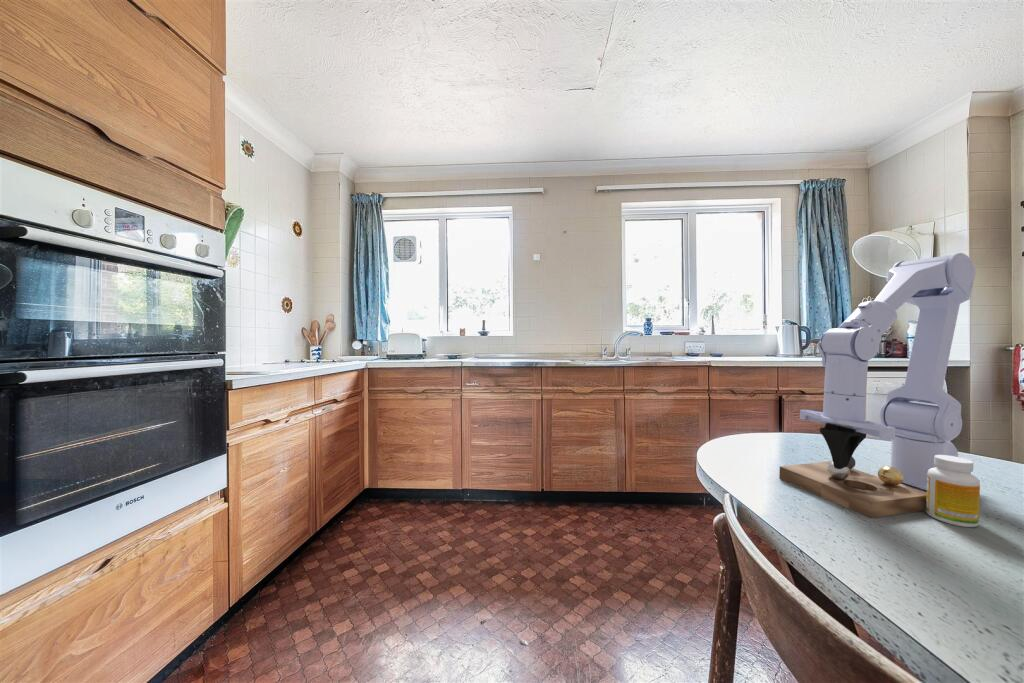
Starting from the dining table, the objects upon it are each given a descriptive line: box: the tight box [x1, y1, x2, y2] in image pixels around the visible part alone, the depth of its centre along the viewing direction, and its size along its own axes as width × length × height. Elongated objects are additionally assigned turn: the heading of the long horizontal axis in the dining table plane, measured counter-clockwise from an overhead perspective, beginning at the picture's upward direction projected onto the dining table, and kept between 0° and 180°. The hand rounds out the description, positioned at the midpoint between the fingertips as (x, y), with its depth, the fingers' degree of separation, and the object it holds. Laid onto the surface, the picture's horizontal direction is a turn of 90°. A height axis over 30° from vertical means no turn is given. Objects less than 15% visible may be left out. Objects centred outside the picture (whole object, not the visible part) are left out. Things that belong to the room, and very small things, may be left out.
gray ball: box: [847, 456, 856, 469], centre depth 73 cm, size 3×3×3 cm
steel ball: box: [827, 461, 850, 479], centre depth 69 cm, size 3×3×3 cm
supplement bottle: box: [925, 455, 981, 528], centre depth 59 cm, size 5×5×10 cm
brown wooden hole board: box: [778, 461, 927, 519], centre depth 68 cm, size 13×16×2 cm
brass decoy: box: [877, 465, 903, 486], centre depth 66 cm, size 3×3×3 cm
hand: (840, 467), depth 68 cm, fingers closed, pressing on steel ball
